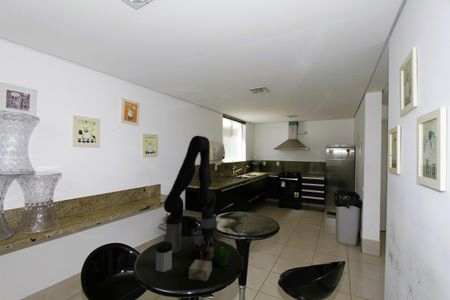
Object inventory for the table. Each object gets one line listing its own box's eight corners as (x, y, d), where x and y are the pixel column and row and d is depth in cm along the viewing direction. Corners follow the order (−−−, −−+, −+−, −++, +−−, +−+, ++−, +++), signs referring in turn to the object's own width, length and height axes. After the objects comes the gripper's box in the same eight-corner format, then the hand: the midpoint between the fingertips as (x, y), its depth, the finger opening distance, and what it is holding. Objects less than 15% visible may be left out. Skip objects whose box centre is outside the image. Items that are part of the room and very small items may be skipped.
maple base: (188, 278, 104) (188, 268, 104) (195, 269, 112) (195, 259, 112) (206, 281, 102) (206, 270, 102) (211, 271, 110) (211, 261, 110)
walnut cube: (200, 260, 121) (200, 249, 121) (204, 255, 127) (204, 245, 127) (209, 262, 119) (210, 251, 120) (213, 257, 125) (213, 247, 125)
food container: (212, 246, 140) (213, 230, 141) (211, 250, 134) (211, 234, 134) (194, 245, 142) (194, 229, 142) (192, 249, 135) (192, 233, 136)
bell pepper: (218, 259, 123) (218, 241, 123) (231, 262, 120) (231, 244, 120) (211, 266, 115) (211, 247, 115) (225, 269, 112) (226, 250, 112)
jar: (151, 270, 110) (152, 246, 111) (161, 262, 118) (161, 240, 118) (166, 273, 108) (167, 249, 108) (175, 265, 116) (175, 242, 116)
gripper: (206, 221, 131) (206, 248, 131) (196, 229, 118) (196, 259, 117) (217, 222, 129) (217, 249, 129) (209, 230, 116) (209, 260, 115)
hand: (207, 254), depth 123 cm, fingers open, 8 cm apart
